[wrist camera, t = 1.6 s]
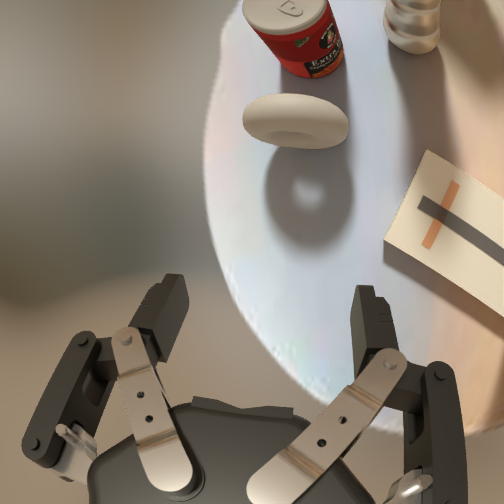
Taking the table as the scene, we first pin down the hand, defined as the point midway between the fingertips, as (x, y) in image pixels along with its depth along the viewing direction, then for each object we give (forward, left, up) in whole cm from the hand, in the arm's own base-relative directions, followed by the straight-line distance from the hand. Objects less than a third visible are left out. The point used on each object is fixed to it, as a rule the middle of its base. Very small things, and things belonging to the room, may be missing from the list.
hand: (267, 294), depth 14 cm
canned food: (-20, -12, -20) cm, 30 cm away
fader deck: (-9, +15, -20) cm, 26 cm away
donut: (-10, -8, -20) cm, 23 cm away
